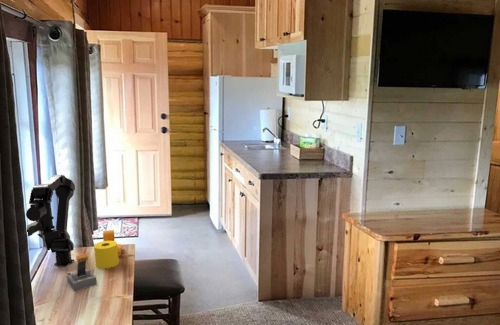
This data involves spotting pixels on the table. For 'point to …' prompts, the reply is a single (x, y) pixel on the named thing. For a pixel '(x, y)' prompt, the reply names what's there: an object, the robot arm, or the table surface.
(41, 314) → the table surface
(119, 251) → the bracket
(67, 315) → the table surface
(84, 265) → the breaker lever
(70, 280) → the box
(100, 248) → the tape roll
